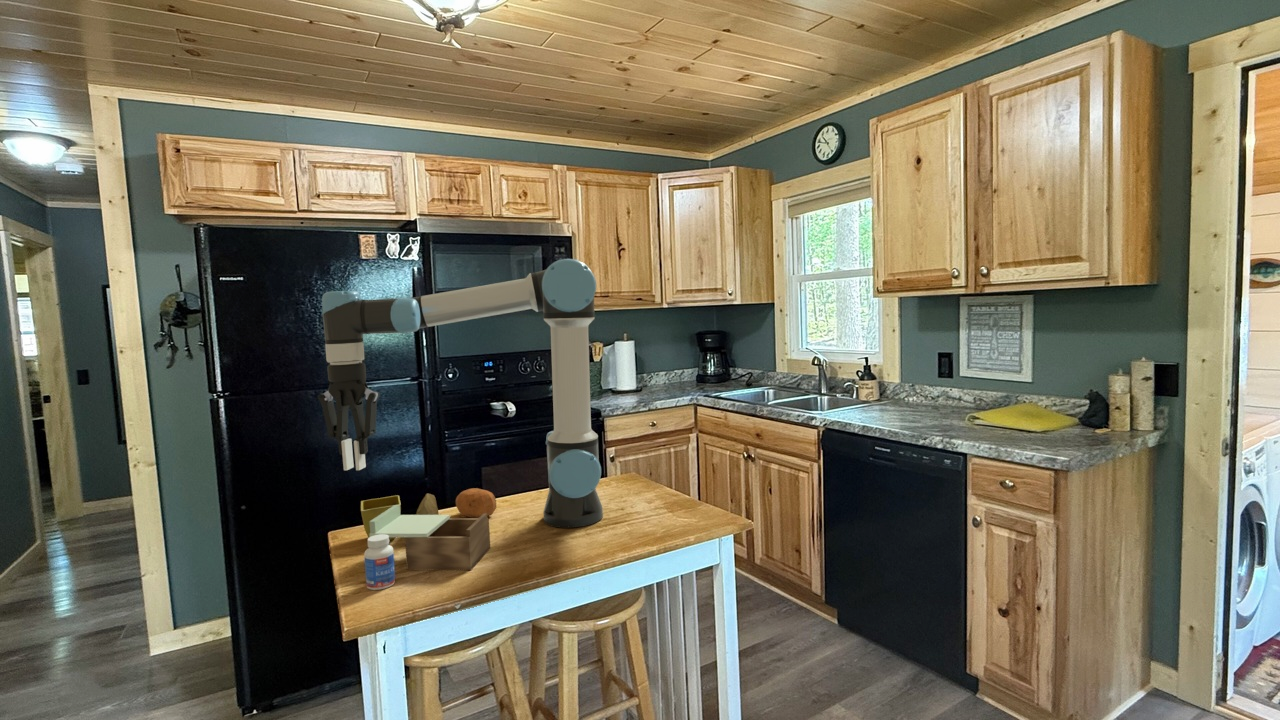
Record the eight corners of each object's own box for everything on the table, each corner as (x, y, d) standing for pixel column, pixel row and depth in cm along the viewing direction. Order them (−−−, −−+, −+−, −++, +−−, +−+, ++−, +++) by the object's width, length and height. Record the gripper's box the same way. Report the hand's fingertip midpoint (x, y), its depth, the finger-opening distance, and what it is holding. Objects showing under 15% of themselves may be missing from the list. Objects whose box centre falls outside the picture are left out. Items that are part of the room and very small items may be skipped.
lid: (449, 518, 144) (448, 504, 144) (427, 537, 132) (426, 522, 132) (396, 518, 145) (395, 504, 145) (369, 537, 134) (368, 522, 133)
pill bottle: (377, 593, 123) (373, 544, 122) (360, 587, 126) (356, 540, 125) (401, 582, 127) (397, 535, 126) (384, 576, 130) (381, 531, 129)
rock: (451, 531, 149) (453, 513, 158) (425, 507, 146) (429, 489, 156) (415, 561, 148) (419, 541, 158) (388, 537, 146) (395, 518, 155)
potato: (468, 525, 159) (466, 496, 159) (449, 515, 168) (447, 488, 167) (500, 516, 165) (499, 488, 165) (481, 507, 174) (479, 480, 173)
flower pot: (363, 548, 147) (360, 510, 146) (363, 536, 155) (360, 500, 154) (403, 541, 150) (400, 504, 150) (401, 529, 158) (399, 494, 158)
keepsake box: (490, 548, 144) (488, 512, 143) (471, 570, 132) (468, 531, 131) (431, 548, 145) (429, 512, 144) (407, 569, 133) (404, 531, 132)
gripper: (388, 359, 140) (396, 463, 142) (323, 362, 141) (332, 464, 143) (370, 363, 132) (378, 472, 134) (302, 365, 134) (312, 473, 136)
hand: (354, 468), depth 139 cm, fingers open, 2 cm apart
